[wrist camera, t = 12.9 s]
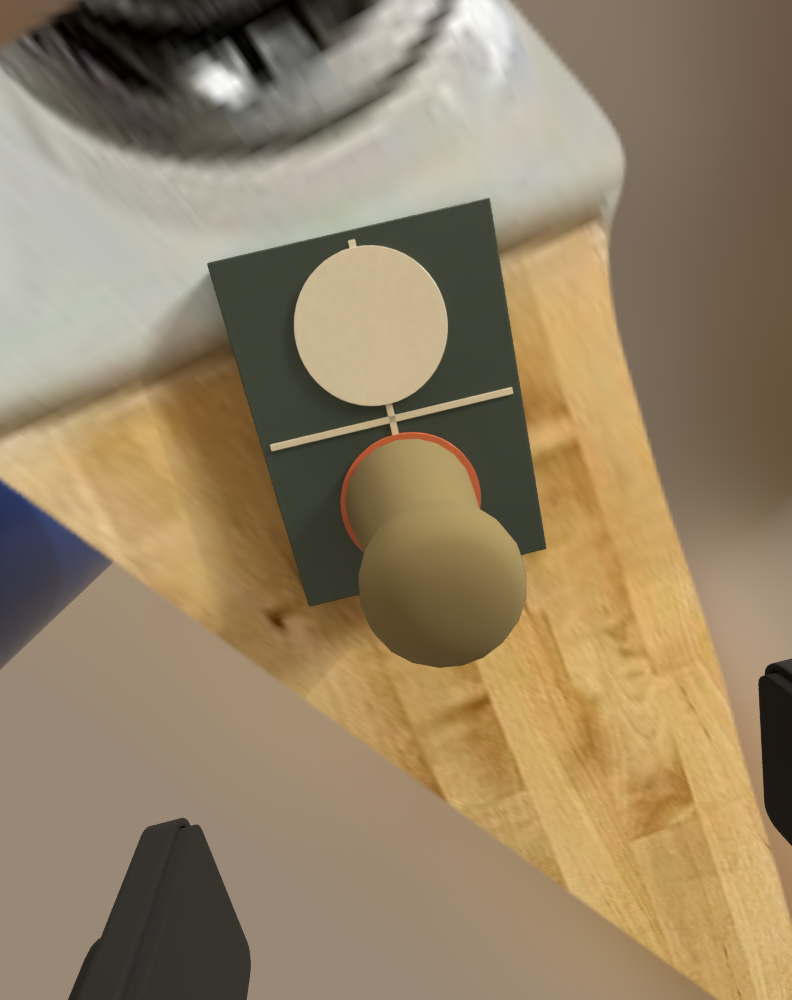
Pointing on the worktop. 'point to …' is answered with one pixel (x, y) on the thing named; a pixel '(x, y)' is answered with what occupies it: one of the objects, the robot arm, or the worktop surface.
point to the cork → (431, 557)
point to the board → (379, 372)
